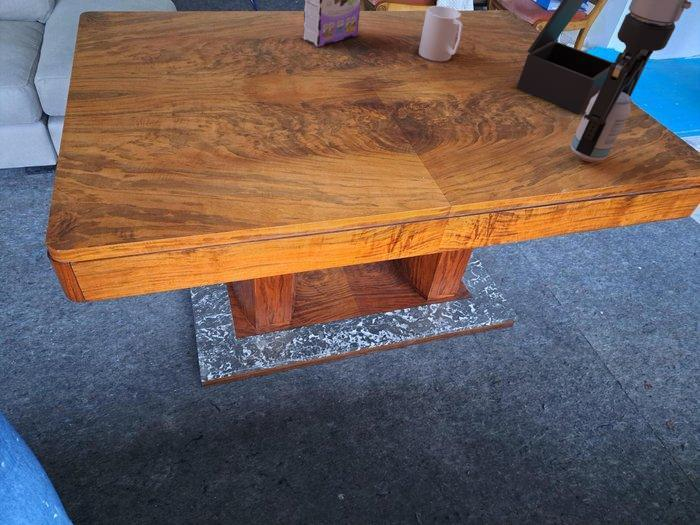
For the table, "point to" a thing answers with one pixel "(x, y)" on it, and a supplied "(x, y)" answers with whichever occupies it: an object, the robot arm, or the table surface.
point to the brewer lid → (556, 23)
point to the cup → (440, 33)
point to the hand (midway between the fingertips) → (591, 145)
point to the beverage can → (609, 131)
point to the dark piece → (563, 76)
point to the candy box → (330, 20)
